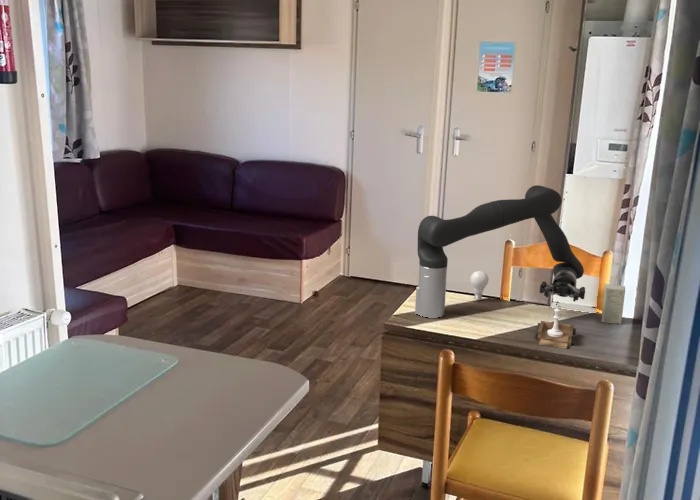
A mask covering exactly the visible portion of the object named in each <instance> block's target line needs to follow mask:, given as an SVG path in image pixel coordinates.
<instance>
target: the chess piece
mask: <svg viewBox="0 0 700 500" xmlns="http://www.w3.org/2000/svg"><path fill="white" fill-rule="evenodd" d="M556 304H557V305H556ZM556 304H555V305H554V306H555V309H554V311H553V312H554V315H553V318H554V322H553V323H554V325H553V328H552V329H550V330H548V331H547V334H548V335H549V336H552V337H562V336H563V332H562V331H560V330H559V329H558V323H559V320H560V319H561V316H560V314H561V312H562V310H561V309H560V308H562V306H561V305H560V303H556Z"/></svg>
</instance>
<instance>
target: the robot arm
mask: <svg viewBox="0 0 700 500" xmlns="http://www.w3.org/2000/svg"><path fill="white" fill-rule="evenodd" d="M562 200H563V199H562V197H561V194H560V193H559V192H557V190H555V189H553V188H550V187H546V186H543V185H532V186H530V187H529V188H528V189H527V190H526V192H525V195H524V198H520V199H519V198H517V199H514V198H513V199H512V198H511V199H499V200H494V201H493V200H492V201H489V202H485V203H482V204H480V205H477V206H476V207H474V208H472V209H471V211H469V212H468V213H467V214H465V215H463V216H460V217H456V218H455V217H454V218H450V219H443V218H441V217H439V216H436V215H427V216H425V217H424V218H423V219H422V220H421V221H420V223H419V225H418V229H417V255H418V259H419V261H418V262H419V265H418V281H417V283H418V284H417V286H416V289H415V291H416V292H415V307H414V314H415V315H416V314H418V315H417V316H419V315H420V316H419V317H422V316H423V317H422V318H425V317H428V318H427V319H439V318H438V317H440V318H443V317H444V316H445V310H446V309H445V308H446V306H445V305H446V292H447V275H448V260H449V259H448V257H447V254H446V253H445V251H444V247H446V246H450V245H452V244H454V243H457V242H459V241H461V240H464V239H466V238H468V237H469V238H470V237H472V236H476V235H479V234H483V233H486V232H491V231H494V230H497V229H501V228H504V227H506V226H509V225H513V224H516V223H520V222H523V221H526V220H529V219H534V221H535V222H536V223H537V226H538V228H539V230H540V231H541V233H542V235H543V237H544V239H545V242H546V243H547V244H546V245H547V247H548V250H549V252H550V254H551V258H552V260H553V261H555V262H557V263H556V264H555V265H553V268H552V273H553V276H554V278H553V281H552V282H551V283H550V284H548V283H547V282H546V281H542V282H541V284H540V285H539V294H543V296H545V298H549V295H551V296H554V295H556V296H559V297H561V298H567V297H568V298H573V299H572V302H576V301H579V298H580V300H585V295H586V287H585V286H580V287H579V288H577V280H578V279H580V278H582V277H583V276H584V272H585V271H584V266H583V264H582V262H581V261H580V260H579V259H578V258H577V257H576V254H574V252H573V250H572V249H571V245H570V243H569V241H568V238H567V236H566V234H565V232H564V230H562V228H561V227H560V225H559V224H558V223H557V222H556V220H555V218H554V217H553V214H554V213H556V212H557V211H558V210H559V209H560V207H561V205H562V202H563V201H562ZM443 315H444V316H443Z"/></svg>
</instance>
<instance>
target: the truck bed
mask: <svg viewBox="0 0 700 500" xmlns="http://www.w3.org/2000/svg"><path fill="white" fill-rule="evenodd" d="M553 325H554V322H551V321H544V320H540V322H537V325H536V327H537V328H535V331H534V339H536V341H539V342H538V344H539V346H546V347H551V346H553V347H552V348H557V347H558V349H559V348H560V349H563V350H565V349H566V350H567V348H568V347H571V346H572V345H575V339H576V336H577V335H576V334H577V328H575V325H572V324H567V323H566V324H565V323H559V322H558V329H559V330H560V331H562V332H563V336H562V337H552V336H549V335H548V334H547V331H548V330H550V329H552V328H553Z"/></svg>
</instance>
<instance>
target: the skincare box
mask: <svg viewBox="0 0 700 500" xmlns="http://www.w3.org/2000/svg"><path fill="white" fill-rule="evenodd" d="M625 294H626V287H625V285H619V284H617V285H616V284H610V283H609V284H608V283H605V285H604V295H603V296H604V297H603V305H602V312H601V314H602V315H601V322H602V323H609V324H615V323H619V324H618V325H622V320H623V311H624V306H625V305H624V303H625V297H626V296H625Z"/></svg>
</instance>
